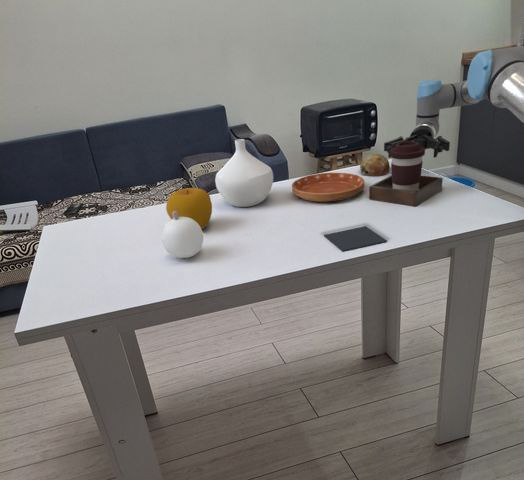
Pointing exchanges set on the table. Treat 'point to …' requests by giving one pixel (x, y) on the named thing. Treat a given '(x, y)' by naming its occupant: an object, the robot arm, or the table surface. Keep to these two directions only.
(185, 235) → the ornament
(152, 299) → the table surface
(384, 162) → the bread roll
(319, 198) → the saucer
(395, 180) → the coffee cup
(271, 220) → the table surface
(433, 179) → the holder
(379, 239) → the mat
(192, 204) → the apple
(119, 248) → the table surface
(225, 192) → the vase
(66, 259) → the table surface
